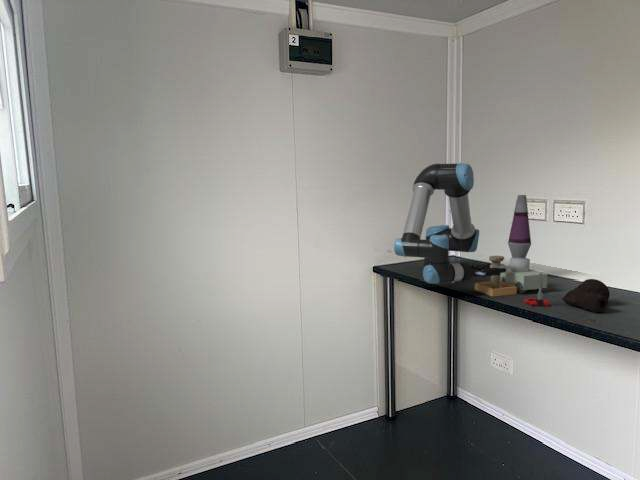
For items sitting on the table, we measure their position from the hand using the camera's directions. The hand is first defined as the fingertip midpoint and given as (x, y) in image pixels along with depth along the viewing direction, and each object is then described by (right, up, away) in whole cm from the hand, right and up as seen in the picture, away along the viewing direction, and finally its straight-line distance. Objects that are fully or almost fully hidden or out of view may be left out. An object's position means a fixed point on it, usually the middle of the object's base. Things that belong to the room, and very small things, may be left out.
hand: (506, 268), depth 199 cm
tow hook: (+5, -13, -17) cm, 22 cm away
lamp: (+14, -7, +22) cm, 27 cm away
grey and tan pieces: (+1, -10, +2) cm, 10 cm away
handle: (-5, -10, 0) cm, 11 cm away
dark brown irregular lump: (+22, -14, -23) cm, 34 cm away
